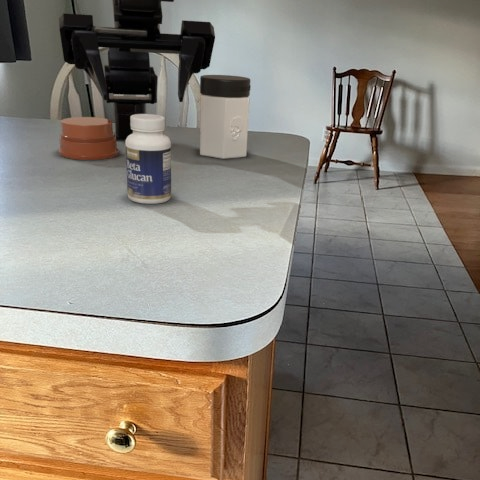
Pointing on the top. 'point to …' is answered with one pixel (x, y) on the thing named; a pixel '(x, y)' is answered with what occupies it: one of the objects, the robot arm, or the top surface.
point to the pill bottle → (148, 160)
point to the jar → (224, 116)
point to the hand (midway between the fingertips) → (144, 98)
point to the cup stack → (87, 139)
